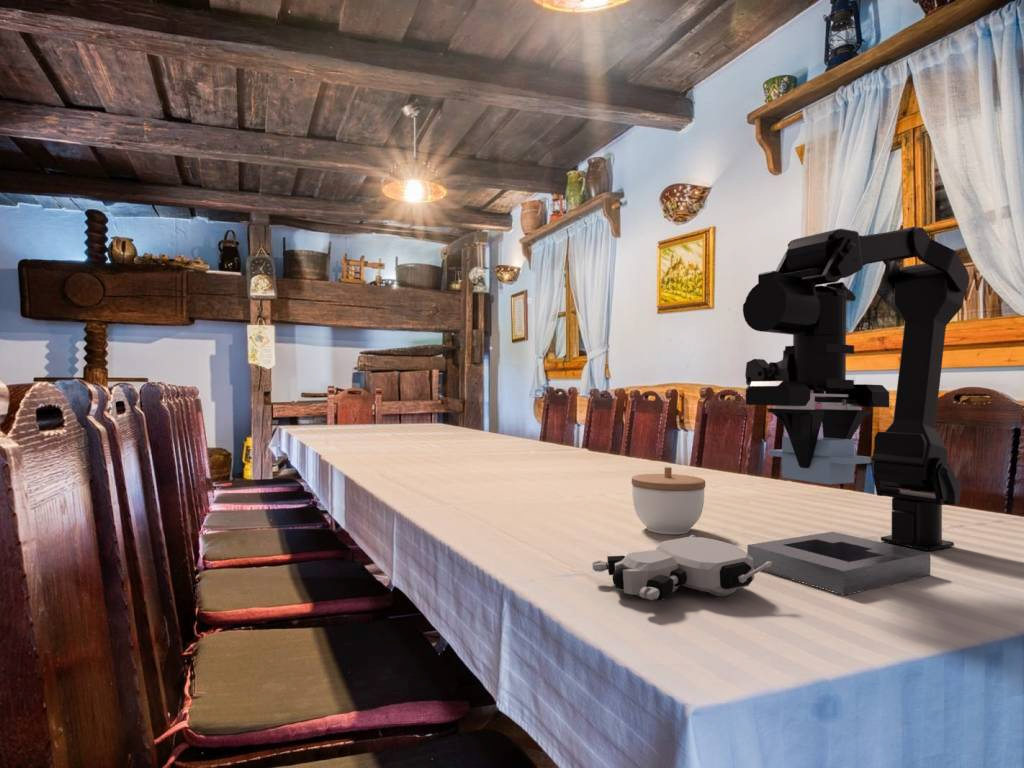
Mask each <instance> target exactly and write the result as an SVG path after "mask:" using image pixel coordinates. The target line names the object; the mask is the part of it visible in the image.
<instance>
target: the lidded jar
mask: <svg viewBox="0 0 1024 768" xmlns="http://www.w3.org/2000/svg"><path fill="white" fill-rule="evenodd" d="M705 488H706V480H705V479H704V478H702V477H698V476H694V475H687V474H686V475H685V474H676V473H675V474H673V472H672V467H671V466H665V467H664V473H644V474H636V475H633V476H632V477H631V491H632V493H631V494H632V495H631V496H632V502H633V506H634V507H633V508H634V511H635V513H636V515H637V518H638V519H639V521H640V522H641V523H642V524H643V525H644V526H645V527H646V530H647V531H648V532H651V533H655V534H659V535H660V534H661V535H671V536H672V535H673V536H674V535H685V534H688V533H689V532H690V529H691V528H693V527H694V526H695V525H696V524H697V522H698V521H699V520H700V517H701V515H702V513H703V509H704V503H705Z"/></svg>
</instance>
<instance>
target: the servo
mask: <svg viewBox="0 0 1024 768" xmlns="http://www.w3.org/2000/svg"><path fill="white" fill-rule="evenodd" d="M781 438H782V439H781V441H782V442H781V443H782V444H781V445H782V447H781V449H769V450H768V456H771V457H778V458H781V478H783V479H791V480H796V481H803V482H804V481H805V482H810V483H818V484H825V485H838V484H842V485H843V484H852V483H855V465H861V464H871V462H872V460H871V458H872V456H865V455H855V439H851V440H849V439H836V438H823V437H821V436H818V438H817V442H816V447H815V451H814V455H813V458H812V461H811V464H810V467H809V468H801V467H799V464H798V461H797V458H796V456H795V453H794V450H793V447H792V444H791V441H790V438H789V436H782V437H781Z"/></svg>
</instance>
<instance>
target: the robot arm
mask: <svg viewBox="0 0 1024 768" xmlns="http://www.w3.org/2000/svg"><path fill="white" fill-rule="evenodd" d="M911 258H917V259H918V260H919V261H920V262H922V263H920V264H914V265H906V266H903V267H902V268H900V267H899V265H898V264H897V263H896V261H899V260H905V259H911ZM880 262H883V264H884V265H885V269H884V273H883V282H884V283H885V285H886V286H887V287H888V288H889V290H890V291H891V293H892V294H893V305H894V307H895V308H896V310H897V312H898V314H899V315H900V317H901V319H902V320H903V322H904V324H903V325H904V327H903V333H902V342H901V343H902V344H901V350H900V351H901V352H900V361H899V370H898V375H897V376H898V378H897V386H896V394H895V395H896V396H895V403H894V414H893V420H892V422H891V424H890V425H889V426H888V427H887V428H886V429H885V431H879V430H878V431H877V433H876V434H875V436H874V439H873V441H874V444H873V453H872V455H871V463H870V464H871V466H870V467H871V474H872V478H873V483H874V488H875V491H876V492H875V493H876V495H877V496H878V497H890V498H891V529H890V530H891V535H885V536H880V542H884V543H889V544H894V545H898V546H900V545H901V546H903V547H908V548H912V549H913V548H914V549H917V550H921V551H923V550H924V551H927V552H928V551H935V550H939V549H946V548H949V547H955V542H954V541H950V540H945V539H943V506H944V505H951V506H952V505H953V506H955V505H956V506H957V505H958V503H960V499H961V495H962V494H961V493H962V486H961V484H960V482H959V481H958V478H957V477H956V475H955V473H954V471H953V470H952V468H951V466H950V465H949V463H948V448H947V445H946V444H945V442H944V441H943V439H942V438H941V436H940V434H939V433H938V431H937V429H936V422H937V414H938V413H937V412H938V405H939V403H938V402H939V395H940V385H941V384H940V383H941V374H942V366H943V356H944V349H945V348H944V346H945V338H946V337H945V336H946V331H947V330H946V329H947V326H948V324H949V323H950V322H951V321H952V320H953V319H954V317H955V316H956V315H957V314H958V313H959V311H960V310H961V309H962V308H963V304H964V300H965V295H966V292H967V290H968V288H969V284H970V275H969V271H968V269H967V267H966V266H965V264H964V263H963V262H962V260H961V258H960V257H959V255H958V254H957V252H956V251H955V250H954V249H952V248H950V247H948V246H946V245H943V244H942V243H941V242H939V241H936V240H934V239H932V238H931V237H930V235H929V234H928V232H927V231H926V230H925V229H924V228H923V227H921V226H919V227H917V226H909V227H906V228H901V229H896V230H892V231H891V230H890V231H886V232H879V233H873V234H866V235H861V234H859V232H858V231H856V230H850V229H845V228H837V229H833V230H828V231H824V232H820V233H815V234H810V235H807V236H802V237H799V238H794V239H792V240H790V241H789V242H788V243H787V249H786V252H784V254H783V256H782V258H781V260H780V262H779V263H778V265H777V267H776V269H775V270H771V271H766V272H760V273H758V276H757V278H758V280H757V281H758V283H756V285H755V286H753V287H752V288H751V290H750V291H749V292H748V293H747V296H745V301H744V302H743V304H742V314H743V318H744V322H746V324H747V326H748V327H750V329H752V330H754V331H757V332H763V333H773V334H780V335H781V334H783V335H789V336H790V335H791V336H792V345H785V347H784V349H783V351H782V359H781V360H779V361H776V362H775V361H774V362H772V361H771V362H767V361H766V360H765V359H762V358H753V359H751V360H749V361H747V362H746V363H745V364H746V365H745V374H744V375H745V376H744V377H745V384H746V385H747V387H746V388H745V402H744V403H745V404H744V405H745V406H746V405H747V406H774V407H775V408H773V407H772V408H771V407H769V408H767V407H766V408H765V409H766V411H767V412H768V413H770V414H773V415H774V416H775V417H776V418H777V419H778V420H779V421H781V423H782V424H783V427H784V428H785V430H786V433H787V437H789V438H790V441H791V444H792V447H793V450H794V453H795V456H796V458H797V461H798V464H799V467H801V468H809V467H810V464H811V461H812V458H813V455H814V451H815V447H816V442H817V438H818V437H819V434H820V430H821V426H822V434H823V435H822V436H823V438H836V439H849V440H852V438H853V437H854V435H855V433H856V432H857V430H858V429H859V427H860V426H861V424H862V423H863V421H864V419H865V418H866V417H867V416H868V415H870V414H871V412H872V411H871V409H861V407H863V408H865V407H866V408H890V391H889V390H887V389H886V387H885V386H884V385H882V384H867V383H865V384H863V383H862V384H861V383H860V384H855V380H854V379H846V378H847V377H846V373H847V372H846V371H847V370H846V369H847V367H846V366H847V365H846V364H847V362H846V361H847V360H846V359H847V357H846V356H847V355H853V354H855V345H854V344H853V345H852V344H847V303H848V302H849V303H850V302H855V301H856V299H857V297H856V295H855V294H854V292H853V291H851V290H850V289H849V288H848V287H847V286H846V284H845V283H844V282H843V281H840V280H841V279H845V278H848V277H850V276H853V275H854V274H856V273H858V272H860V271H861V270H862V269H863V268H864V267H863V266H865V265H868V264H875V263H880ZM824 284H825V285H824ZM811 391H812V393H811ZM815 403H821V408H816V407H815V405H816V404H815Z"/></svg>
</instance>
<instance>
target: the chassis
mask: <svg viewBox="0 0 1024 768" xmlns="http://www.w3.org/2000/svg"><path fill="white" fill-rule="evenodd" d="M746 546H747V549H746V550H747V551H746V553H748V554H749V555H750V556H751V557H752V559H753V565H754V569H755V568H756V569H757V568H759V567H760V566H762V565H764V563H766V562H768V561H769V562H772V564H771V566H770V567H768V568H767V567H766V568H765V569H763V570H761V571H762V572H765V573H768V572H769V574H772V575H775V574H776V575H775V576H778V575H780V576H779V577H781V576H784V577H783V578H785V577H787V578H786V579H788V578H790V579H789V580H791V579H794V580H797V581H800V582H799V583H801V582H804V583H807V584H810V585H814V586H818V587H821V588H824V589H827V590H830V591H834V592H837V593H839V594H843V595H844V594H848V595H850V594H849V593H852V594H855V593H854V592H856V593H859V592H858V591H861V592H863V591H862V590H865V591H868V590H867V589H869V590H873V589H877V588H881V586H882V587H885V585H886V586H889V584H890V585H893V584H894V585H895V584H897V583H902V582H901V581H903V582H906V581H905V580H907V581H911V580H914V578H915V579H920V578H924V577H928V576H931V552H928V551H925V550H924V551H923V550H920V549H916V548H914V549H913V548H911V547H906V546H902V545H901V546H900V545H897V544H893V543H888V542H883V541H877V540H873V539H867V538H863V537H859V536H855V535H850V534H849V535H848V534H845V533H841V532H835V531H827V532H821V533H816V534H815V533H813V534H808V535H802V536H797V537H789V538H783V539H777V540H771V541H765V542H764V541H763V542H758V543H752V544H751V543H749V544H747V545H746ZM910 579H911V580H910ZM794 580H793V581H794ZM797 581H796V582H797ZM804 583H803V584H804ZM807 584H806V585H807ZM810 585H809V586H810ZM814 586H813V587H814ZM876 587H877V588H876ZM872 588H873V589H872ZM830 591H829V592H830ZM839 594H838V595H839ZM843 595H842V596H843ZM844 596H845V595H844Z"/></svg>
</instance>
